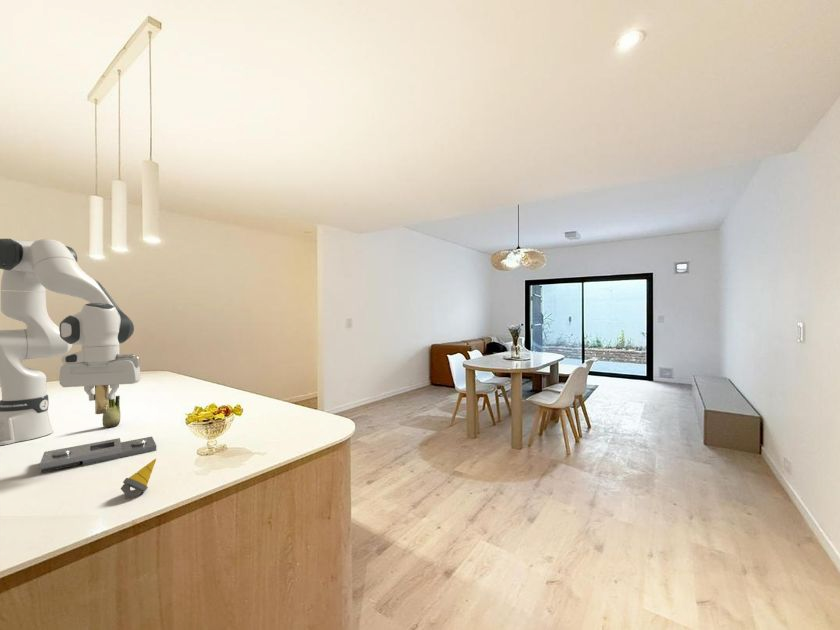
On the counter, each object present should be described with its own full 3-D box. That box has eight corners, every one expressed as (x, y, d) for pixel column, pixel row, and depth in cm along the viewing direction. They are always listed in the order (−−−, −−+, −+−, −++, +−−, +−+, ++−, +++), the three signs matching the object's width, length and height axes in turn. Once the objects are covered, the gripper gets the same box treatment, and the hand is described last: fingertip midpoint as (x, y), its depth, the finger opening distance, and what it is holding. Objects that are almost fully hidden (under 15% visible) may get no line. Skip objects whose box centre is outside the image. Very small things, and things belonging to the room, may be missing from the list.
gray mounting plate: (39, 474, 99) (39, 461, 99) (44, 461, 108) (44, 449, 108) (156, 450, 117) (156, 438, 117) (152, 440, 126) (151, 429, 126)
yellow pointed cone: (116, 497, 88) (148, 457, 94) (138, 505, 88) (168, 465, 95) (110, 491, 84) (143, 451, 90) (132, 500, 84) (164, 459, 91)
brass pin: (92, 414, 110) (92, 381, 110) (99, 411, 114) (99, 380, 114) (104, 413, 111) (104, 381, 111) (111, 411, 114) (110, 379, 114)
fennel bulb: (119, 423, 146) (119, 394, 146) (122, 426, 143) (122, 395, 143) (100, 427, 142) (100, 396, 142) (103, 429, 139) (103, 398, 139)
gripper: (144, 352, 118) (145, 395, 118) (70, 355, 113) (71, 399, 113) (133, 354, 111) (134, 399, 111) (54, 357, 107) (55, 404, 107)
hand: (102, 399), depth 112 cm, fingers closed on brass pin, 3 cm apart
